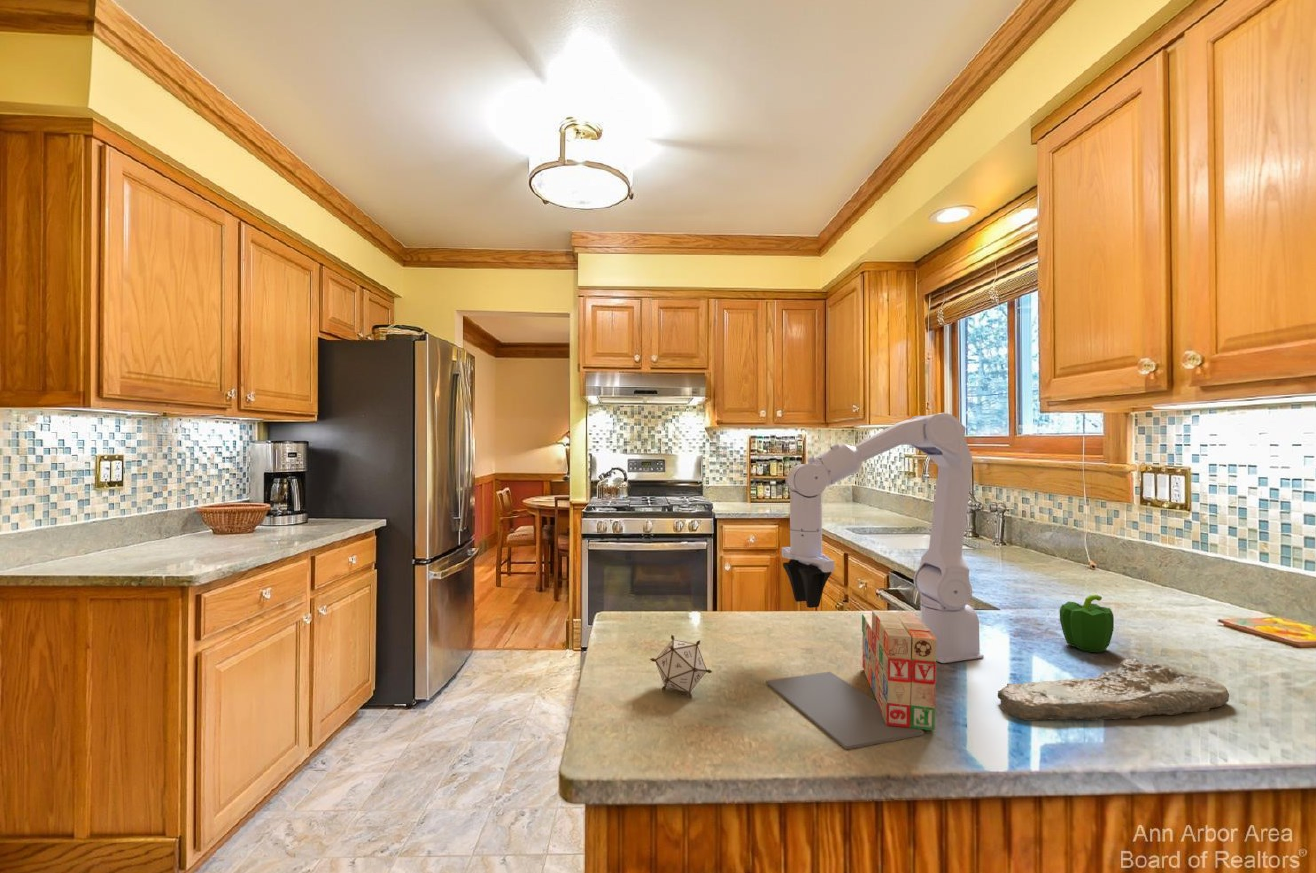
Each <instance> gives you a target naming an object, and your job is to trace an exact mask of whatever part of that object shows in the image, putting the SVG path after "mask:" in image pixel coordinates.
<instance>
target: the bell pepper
mask: <svg viewBox="0 0 1316 873" xmlns="http://www.w3.org/2000/svg"><path fill="white" fill-rule="evenodd" d="M1102 599H1103V598H1102V596H1100V595H1098V594H1092V595H1089V596H1087V597H1085V599H1084V602H1083V605H1082V604H1080V603H1077V602H1075V601H1067V602H1065V603H1063V604H1061V606H1060V608H1059V622H1060V626H1061V630H1062V633H1063V636H1064V639H1065V641H1066V644H1068V646H1071V647H1075V648H1077V649H1079V650H1082V651H1084V652H1089V653H1102V652H1104V651H1105V650H1107V648H1108V647H1109V646H1110V644H1111V641H1112V640H1111V639H1112V636H1113V633H1114V629H1115V628H1114V622H1115V621H1114V614H1113V611H1112V609H1111V608H1110V607H1105V606H1101V605H1098V604H1097V603H1092V602H1093V601H1098V602H1099V601H1101V600H1102Z"/></svg>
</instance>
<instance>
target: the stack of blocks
mask: <svg viewBox="0 0 1316 873" xmlns="http://www.w3.org/2000/svg"><path fill="white" fill-rule="evenodd" d="M861 633H862V641H861V642H862V646H861V647H862V657H861V658H862V669H863V670H864V674H865V677H866V678H867V680H868V684H869V687H870V688H871V690H872V692H873V695H874V697H875V700H876V701H877V702H878V704H879V708H880V711H881V713H882V716H883V718H884V721H885V723H886V725H890V726H898V727H907V728H910V727H911V728H917V729H920V730H927V731H935V729H936V706H935V705H936V684H937V661H936V653H937V639H936V638H935V637H934V636H933V634H932V633H931V632H930V630H929V629H928V628H927V627H926V626H925V625H924V624H923V623H922V622H921V619H920V618H918V617H917V616H916V615H915V614H914V613H912V612H903V611H886V610H871V614H870V613H869V614H868V613H862V614H861Z"/></svg>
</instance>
